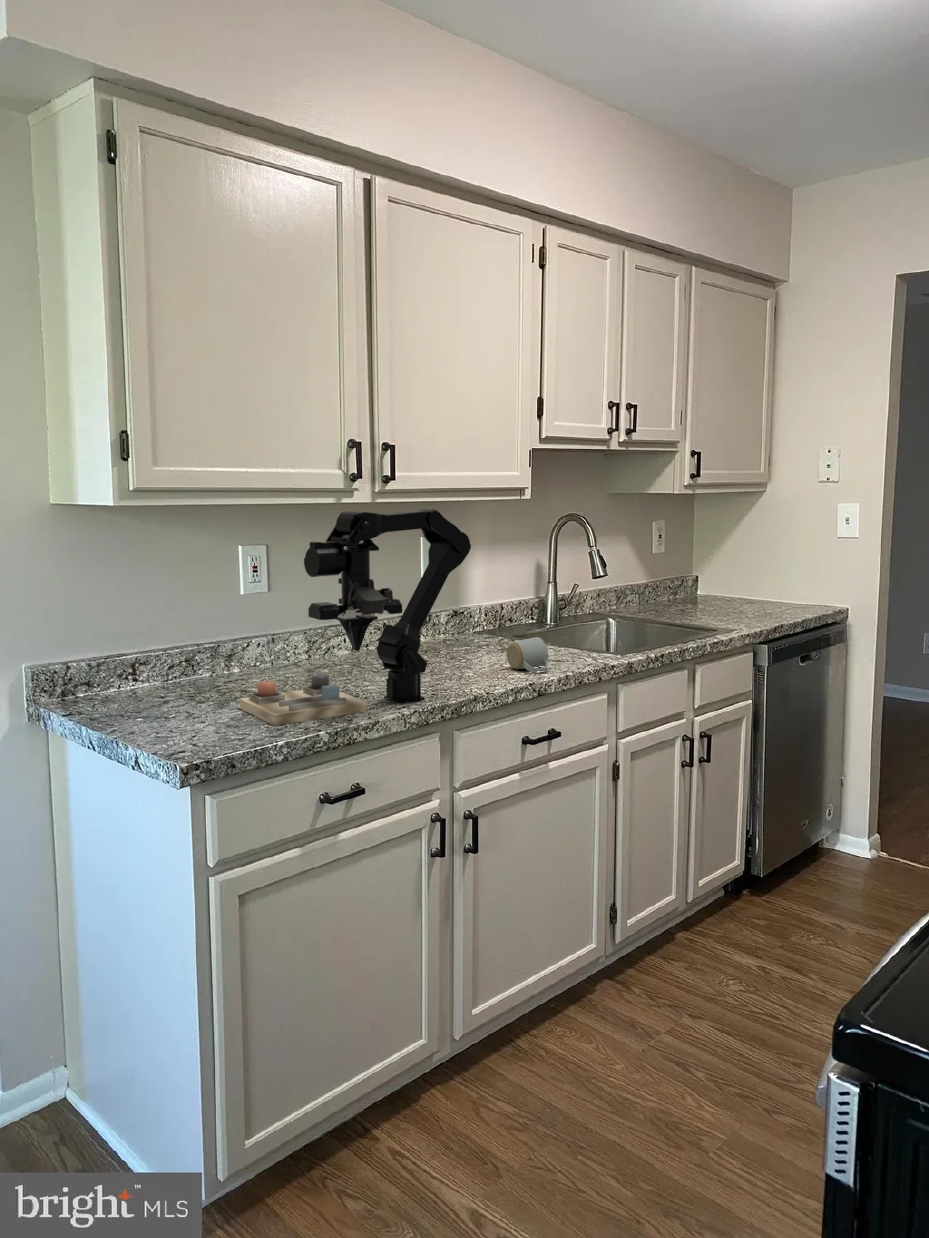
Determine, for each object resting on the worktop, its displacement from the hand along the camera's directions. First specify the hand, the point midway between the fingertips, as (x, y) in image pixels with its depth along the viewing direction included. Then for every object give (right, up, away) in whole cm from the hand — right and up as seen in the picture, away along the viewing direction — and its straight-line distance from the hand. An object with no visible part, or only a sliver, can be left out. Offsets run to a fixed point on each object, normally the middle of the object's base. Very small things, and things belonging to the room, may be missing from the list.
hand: (356, 650), depth 196 cm
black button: (-8, -8, +6) cm, 13 cm away
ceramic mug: (+38, -6, +42) cm, 57 cm away
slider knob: (-5, -10, -2) cm, 11 cm away
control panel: (-11, -12, 0) cm, 16 cm away
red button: (-18, -9, -1) cm, 20 cm away
